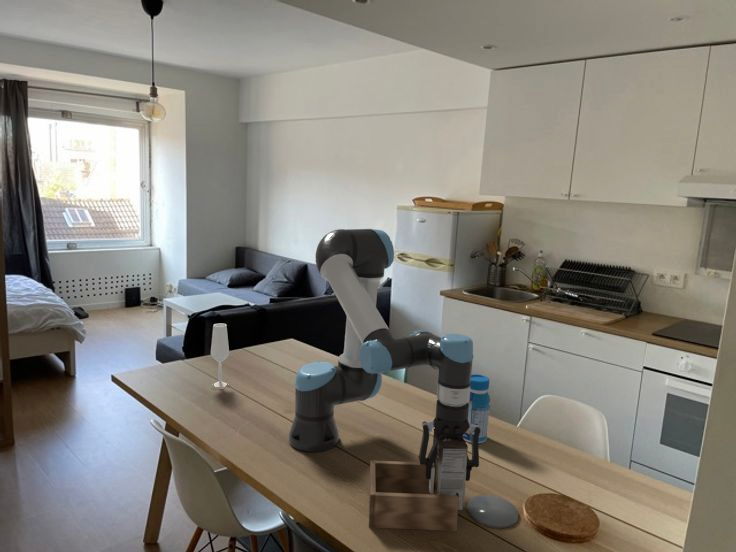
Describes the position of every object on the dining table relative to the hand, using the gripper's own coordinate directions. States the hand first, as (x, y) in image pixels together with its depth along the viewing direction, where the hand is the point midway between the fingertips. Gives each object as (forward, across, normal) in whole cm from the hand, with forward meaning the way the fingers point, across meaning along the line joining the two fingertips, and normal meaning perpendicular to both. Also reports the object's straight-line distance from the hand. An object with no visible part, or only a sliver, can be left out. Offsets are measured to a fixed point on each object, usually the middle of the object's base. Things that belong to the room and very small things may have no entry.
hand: (446, 491), depth 126 cm
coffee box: (+2, 0, 0) cm, 2 cm away
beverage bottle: (+5, +14, +39) cm, 42 cm away
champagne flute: (+5, -76, +72) cm, 105 cm away
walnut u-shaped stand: (+5, -8, 0) cm, 10 cm away
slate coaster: (+5, +12, 0) cm, 13 cm away
